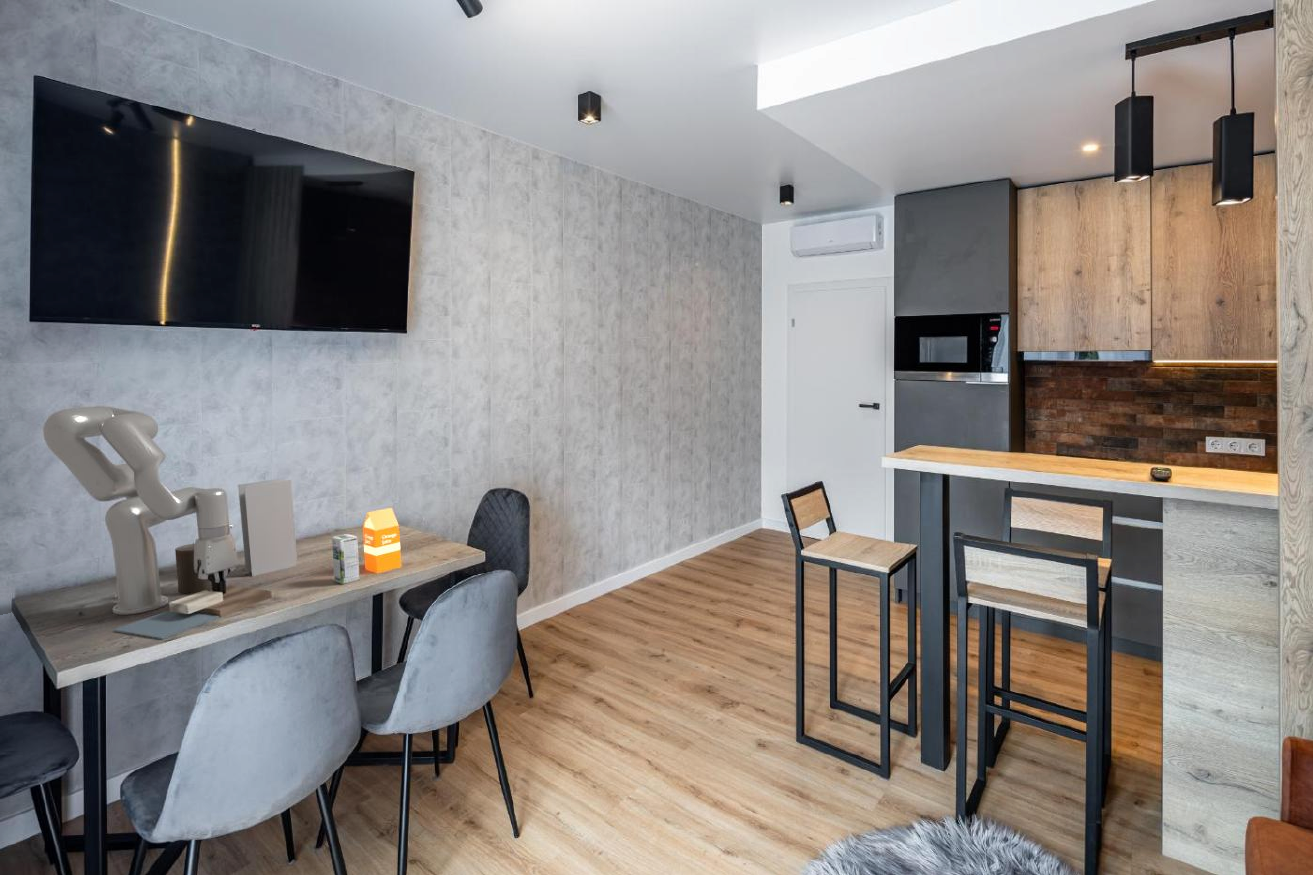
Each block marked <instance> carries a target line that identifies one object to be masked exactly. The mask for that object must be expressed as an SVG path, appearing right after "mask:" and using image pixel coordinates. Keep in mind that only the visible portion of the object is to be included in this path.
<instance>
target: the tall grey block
mask: <svg viewBox="0 0 1313 875" xmlns="http://www.w3.org/2000/svg"><path fill="white" fill-rule="evenodd" d="M237 487H238V488H237V489H238V499H239V510H240V520H241V531H242V532H241V534H242V544H243V557H244V566H245V567H244V569H245V573H246V574H251V576H252V577H257V576H260V574H261V575H263V574H268V573H272V572H277V571H281V570H286V569H289V568H293V567H294V566H295V567H298V556H297V555H298V554H297V540H296V529H295V517H294V515H295V514H294V503H293V490H292V479H288V480H287V479H285V478H277V479H271V480H263V481H256V482H248V483H241V484H237Z"/></svg>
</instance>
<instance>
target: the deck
mask: <svg viewBox="0 0 1313 875" xmlns="http://www.w3.org/2000/svg"><path fill="white" fill-rule="evenodd" d="M210 591H212V590H210ZM271 598H273V597H272V590H267V589H265V590H264V589H259V588H251V587H243V586H237V585H236V586H235V585H230V584H229V585H228V584H226V594H223V601H222V602H220V603H217V604H214V605H212V606H209V607H206V608H204V609H201V610H198V611H195V612H194V613H201V614H208V615H215V616H219V618H222V616H223V617H225V616H227V615H230V614H232V613H235V612H238V611H240V610H243V609H245V607H246V608H248V607H250V605H251V606H253V605H256V604H258V603H260V602H264V601H266V600H268V599H271Z"/></svg>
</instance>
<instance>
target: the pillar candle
mask: <svg viewBox="0 0 1313 875" xmlns="http://www.w3.org/2000/svg"><path fill="white" fill-rule="evenodd" d="M194 547H195V542H192V543H189V544H184V545H181V546H178V547H176V548H174V550H175V563H176V564H175V565H176V577H177V591H178V593H179V594H181V595H192V594H195V593H198V592H201V591H204V590H207V591H209V590H210V591H211V590H212V582H210V581H209V580H208V579H198V575H199V573H195V571H194Z"/></svg>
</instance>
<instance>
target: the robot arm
mask: <svg viewBox="0 0 1313 875" xmlns="http://www.w3.org/2000/svg"><path fill="white" fill-rule="evenodd" d="M42 430H43V432H42V433H43V438H44V441H45V444H46V446H47V447H48V449H49V450H50V451H51V452H52V453H53V455H54V456H55V457H57V459H58V460H60V461H61V462H62V463H63V464H64V465H65V467H67V469H68V470H69V471H70V473H71V474H72V475H73V476H74V477H75V479H77V481H78V482H79V483H80V485H81V486H82V487H83V488H84V490H85V491H86V492H87V493H88V494H89V495H90V496H91V497H92V498H93V499H94V500H96V501H98V502H111V501H115V500H119V499H123V498H125V499H123V500H120V501H118V502H116V503H114V504H112V505H111V506H110V507H109V508H108V509H107V511H106V513H105V516H104V521H105V526H106V528H107V531H108V534H109V536H110V540H111V545H112V551H113V553H112V554H113V559H114V569H115V575H116V576H115V577H116V587H117V593H115V594H114V595H113V598H114V599H117V601H118V603H117V604H115V605H114V606H113V608H112V613H113V614H116V615H123V616H124V615H136V614H141V613H145V612H146V613H147V612H150V611H153V610H156V609H159V608H162V607H164V606H165V605H167V603H168V604H169V597H167V596H166V595H162V592H161V583H160V581H161V580H160V574H159V573H160V572H159V563H158V555H157V553H158V552H157V546H156V541H155V538H154V537H153V535H152V533H151V531H150V530H149V528H151V527H154V526H157V525H160V524H163V523H164V522H165V523H166V521H172V520H176V519H179V518H183V517H185V516H189V515H192V514H196V524H197V536H198V538H196V539H195V541H194V544H195V547H194V571H195V573H199V575H198V579H208V580H209V581H210V582H212V591H214V592H221V593H223V594H226V585H227V583H226V580H228V578H229V577H228V576H229V574H230V573H231V572H232V571H234V570H236V568H237V564H238V563H237V562H238V554H237V547H236V542H235V539H234V537H233V534H232V533H231V529H232V528H233V524H232V523H230V518H229V517H230V516H229V505H228V496H227V495H228V494H227V491H226V490H225V489H223V488H221V487H219V488H218V487H214V488H200V487H191V486H190V487H185V488H181V489H177V490H173V491H170V490H169V489H168V487H167V486H166V485H165V484H164V483H163V481H162V479H161V478H160V474H159V467H160V466H161V464H163V463H164V462H165V459H166V454H165V452H164V451H163V450H162V449H161V447H159V445H158V444H157V443H156V442H155V441H154V438H156V436H157V435H158V432H159V425H158V422H157V421H156V420H155V419H154V418H153V417H152V416H151V415H149V414H147V413H145V412H140V411H134V410H128V409H122V408H118V407H114V406H113V407H112V406H111V407H110V406H106V405H105V406H104V405H100V406H99V405H98V406H85V407H82V406H81V407H73V408H72V407H71V408H70V407H69V408H64V409H62V410H58V411H55V412H53V413H52V414H51V415H48V418H47V419H46V420H45V422H44V425H43V429H42ZM99 436H102V437H103V438H104V440H105V441H106V442H107V443H108V444H109V445H110V446H111V448H112V449H113V450H114V451H115V453H117V455H118V456H120V458H122V460H123V461H124V462H125V463H121V464H113V462H111V461H110V459H108V457H107V456H106V455H105V453H104V452H103V451H102V450H101V449H100V448H98V447H97V446H95V445H94V444H92V443H90V442H88V441H87V440H86V439H85V438H93V437H99Z"/></svg>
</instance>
